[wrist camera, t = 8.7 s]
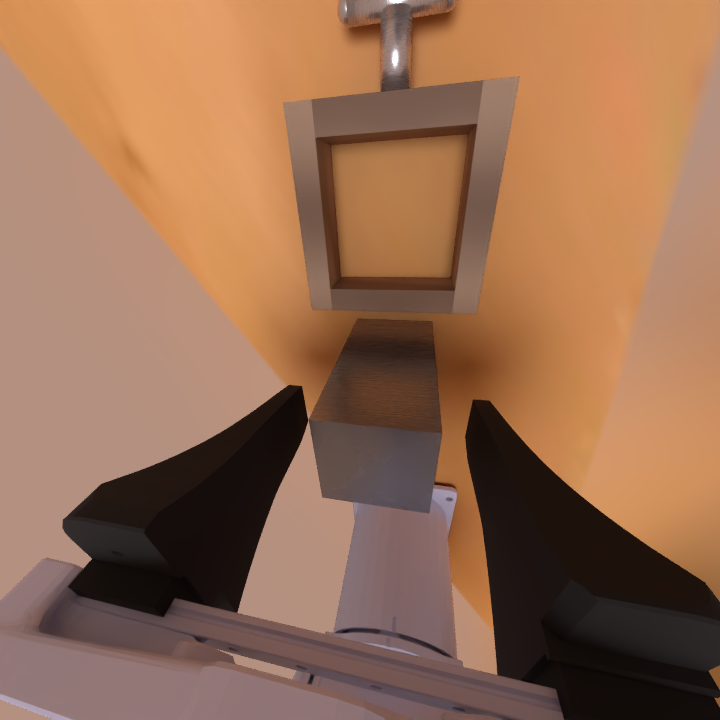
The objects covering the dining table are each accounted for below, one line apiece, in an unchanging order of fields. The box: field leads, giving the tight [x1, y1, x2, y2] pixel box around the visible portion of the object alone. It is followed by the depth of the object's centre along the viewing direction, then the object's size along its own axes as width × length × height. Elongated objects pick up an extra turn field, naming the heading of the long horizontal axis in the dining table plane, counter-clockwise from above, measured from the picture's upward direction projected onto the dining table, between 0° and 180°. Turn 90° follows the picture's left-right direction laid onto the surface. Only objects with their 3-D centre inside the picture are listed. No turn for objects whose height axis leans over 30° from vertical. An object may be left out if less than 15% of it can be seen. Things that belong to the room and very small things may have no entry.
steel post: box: [309, 319, 442, 514], centre depth 13 cm, size 4×4×8 cm
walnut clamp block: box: [283, 0, 520, 314], centre depth 11 cm, size 10×7×2 cm
